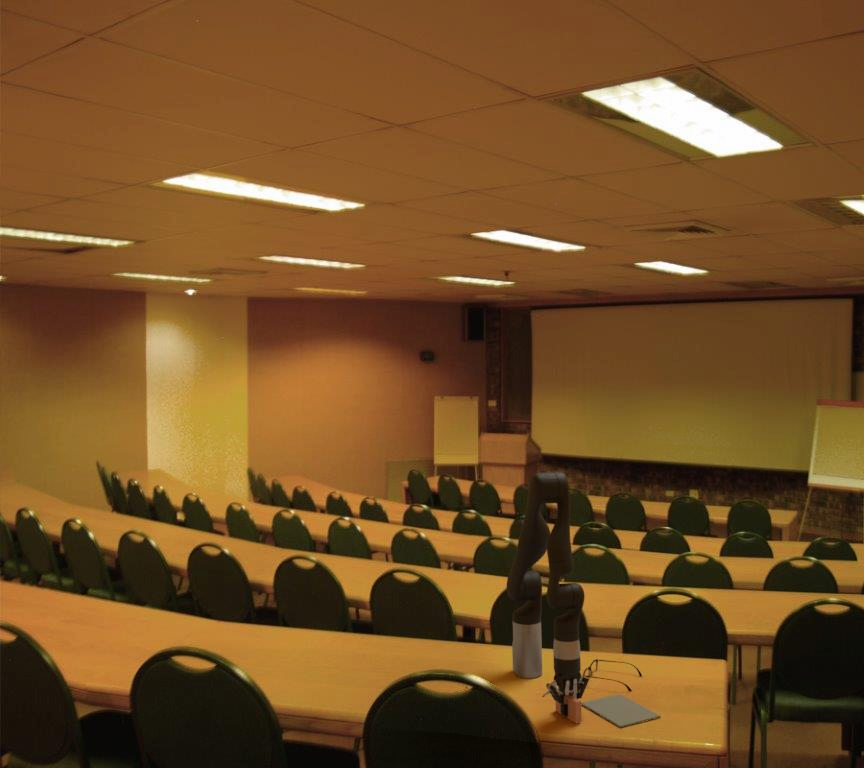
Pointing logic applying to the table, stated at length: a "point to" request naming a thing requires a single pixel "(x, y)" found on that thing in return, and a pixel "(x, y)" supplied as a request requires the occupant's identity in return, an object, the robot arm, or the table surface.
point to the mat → (620, 710)
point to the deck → (572, 709)
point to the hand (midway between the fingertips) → (568, 714)
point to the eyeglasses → (604, 678)
